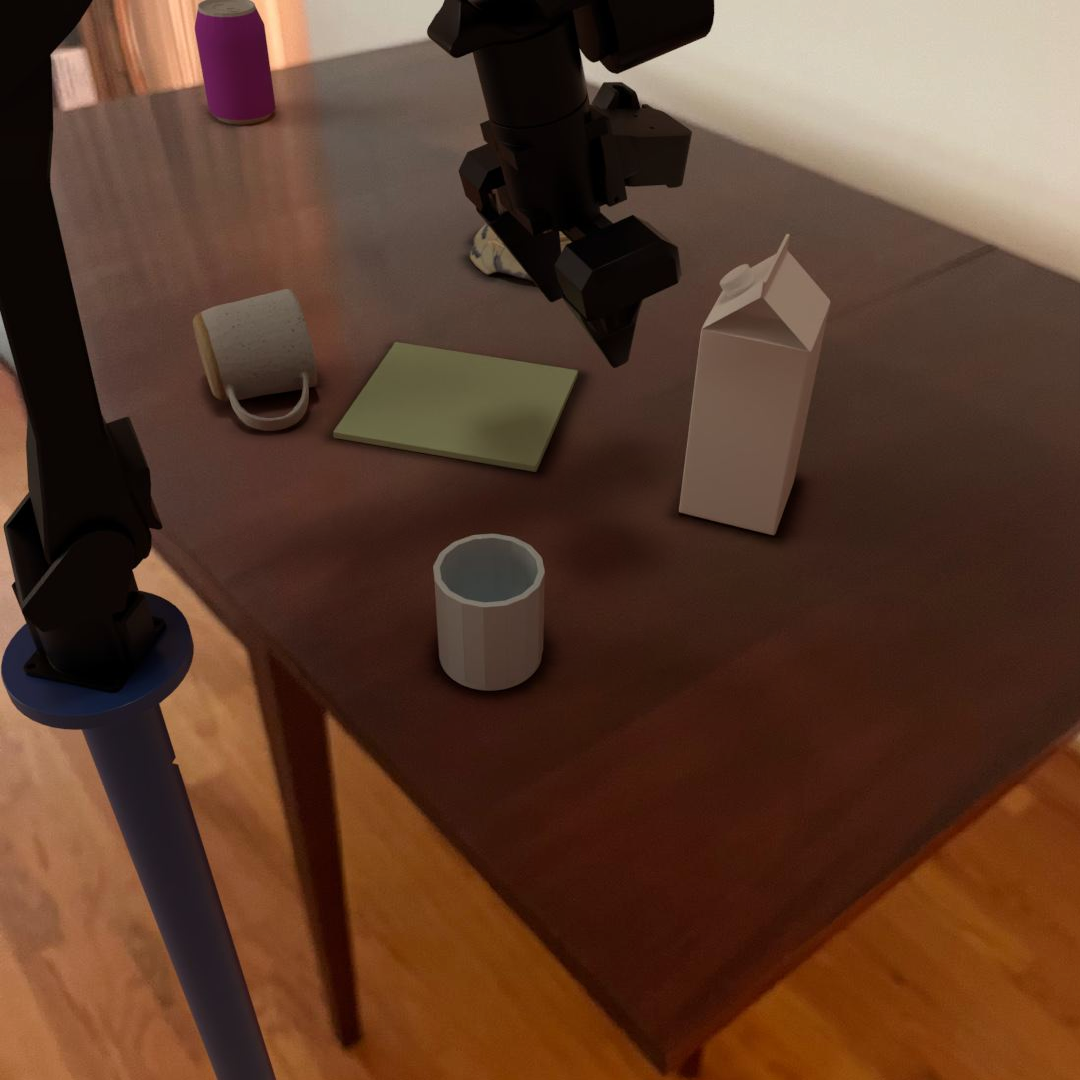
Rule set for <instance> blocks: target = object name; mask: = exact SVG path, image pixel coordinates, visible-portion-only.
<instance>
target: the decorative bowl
mask: <svg viewBox="0 0 1080 1080" xmlns="http://www.w3.org/2000/svg"><path fill="white" fill-rule="evenodd" d="M559 233H560V244H561V252H562V251H563V249H564V247H565V245H567V244H569V243H571V241H570V240H569V239H568V238H567V237H566V236H565V235H564V234H563V233H562V232H561V231H559ZM472 242H473V243H472V246H471V250H470V252H469V253H470V254H469V259H470V261H471V262H472V263H473V265H474V266H475V267H476V268H478V269H479V270H480V271H481V272H482V273H483V274H485V275H486V276H490V275H493V274H496V273H500V274H506V275H509V276H512V277H516V278H519V279H522V280H523V279H524V280H528V281H531V282H533V280H532V279H531V278H530V277H529V275H528V274H527V273H526V272H525V270H524V269H523V268H522V266H521V265H520V264H519V263H518V261H517V260H516V259H515V258H514V257H513V255H512V254H511V253H510V252H509V250H508V249H507V248H506V247H505V245H504V244H503V243H502V242H501V240H500V239H499V238H498V237H497V235H496V234H495V233H494V232H493V230H492V229H491V228H490V227H489V225H488V224H487V223H486V222H485V224H484V225H483V226H482V227H481V228H479V230H478V231H477V233H476V235H475V236H474V237H473V239H472Z"/></svg>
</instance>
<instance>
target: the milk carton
mask: <svg viewBox="0 0 1080 1080" xmlns="http://www.w3.org/2000/svg"><path fill="white" fill-rule="evenodd" d="M790 236H791V235H790V233H786V234H785V235H784V238H783V240H782V241H781V244H780V245H779V248H778V250H777V252H776V253H774V254H773V255H771V256H769V257H767V258H765V259H764V260H762V261H760V262H758V263H757V264H755V265H753V266H751V267H750V265H749V264H748V263H744V264H743V263H742V264H741V265H738V266H736V267H735V268H733V269H731V270H730V271H729V272H727V273H726V274H725V275H724V276H722V278H721V279H720V281H719V286H720V288H721V292H720V294H719V296H718V298H717V299H716V302H715V303H714V305H713V307H712V309H711V310H710V311H709V314H708V316H707V318H706V319H705V321H704V323H703V325H702V327H701V330H700V336H699V342H698V343H699V344H698V352H697V359H696V368H695V376H694V384H693V390H692V391H693V392H692V401H691V409H690V417H689V424H688V433H687V441H686V449H685V458H684V466H683V474H682V482H681V490H680V498H679V507H678V512H679V513H680V514H684V515H688V516H692V517H697V518H701V519H704V520H709V521H712V522H717V523H721V524H725V525H729V526H733V527H737V528H742V529H745V530H749V531H754V532H757V533H761V534H767V535H770V536H775V535H776V533H777V531H778V527H779V525H780V522H781V519H782V517H783V514H784V510H785V509H786V507H787V506H786V505H787V502H788V501H789V497H790V495H791V492H792V488H793V486H794V482H795V479H796V473H797V468H798V464H799V458H800V453H801V448H802V445H803V444H802V443H803V439H804V434H805V429H806V424H807V418H808V415H809V409H810V403H811V400H812V394H813V391H814V384H815V379H816V375H817V370H818V365H819V360H820V357H821V356H820V355H821V351H822V346H823V341H824V336H825V331H826V326H827V321H828V317H829V312H830V306H831V299H830V298H829V297H828V296H827V295H826V294H825V292H824V291H823V290H822V289H821V288H820V286H819V285H818V284H817V283H816V282H815V280H814V279H813V278H812V277H811V276H810V275H809V274H808V272H807V271H806V270H805V269H804V267H803V266H802V265H801V264H800V263H799V262H798V260H796V258H795V257H794V256H793V255H792V254H791V252H790V251H789V249H788V248H789V247H788V246H789V242H790Z"/></svg>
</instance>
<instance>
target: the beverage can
mask: <svg viewBox="0 0 1080 1080" xmlns="http://www.w3.org/2000/svg"><path fill="white" fill-rule="evenodd" d="M194 33H195V39H196V44H197V45H196V46H197V50H198V56H199V62H200V67H201V73H202V79H203V84H204V91H205V95H206V101H207V106H208V110H209V113H210V114H211V115H213V116H214V117H215V118H216V119H218V120H219V121H220V122H222V123H225V124H229V125H239V126H241V125H252V124H258V123H261V122H264V121H265V120H267V119H269V118H270V116H271V115H272V114H273V113H274V111H275V110H276V100H275V92H274V85H273V78H272V70H271V62H270V55H269V48H268V41H267V34H266V27H265V23H264V20H263V19H262V16H261V15H260V12H259V10H258V8H257V7H256V3H255V2H254V1H252V0H202V1H200V2H199V3H198V4H197V11H196V16H195V23H194Z"/></svg>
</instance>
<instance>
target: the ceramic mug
mask: <svg viewBox="0 0 1080 1080" xmlns="http://www.w3.org/2000/svg"><path fill="white" fill-rule="evenodd" d="M192 327H193V333H194V337H195V341H196V344H197V349H198V352H199V356H200V359H201V362H202V366H203V368H204V372H205V375H206V379H207V381H208V385H209V387H210V390H211V393H212V395H213V396H214V397H215V398H216V399H218V400H220V401H230V405H231V408H232V410H233V411H234V413H235V415H236V416H237V417H238V418H239V420H240V421H242V423H244V424H245V425H246V426H249V428H252V429H255V430H260V431H263V432H264V431H266V432H275V431H281V430H286V429H288V428H290V427H292V426H294V425H296V424H298V422H299V421H300V420H301V419H302V418H303V417H304V415H305V414H306V412H307V410H308V406H309V399H310V388H313V387H316V386H317V384H318V371H317V370H318V368H317V364H316V363H317V362H316V357H315V352H314V347H313V344H312V343H313V342H312V340H311V336H310V333H309V329H308V325H307V322H306V319H305V316H304V313H303V310H302V307H301V304H300V302H299V300H298V297H297V295H296V293H295V292H294V291H293V290H292V289H291V288H284V289H280V290H275V291H272V292H268V293H264V294H261V295H256V296H252V297H248V298H245V299H240V300H236V301H232V302H228V303H223V304H218V305H215V306H212V307H209V308H207V309H205V310H203V311H200V312H198V313H196V314H195V315H194V317H193V319H192ZM299 390H302V391H301V397H300V399H299V400H298V402H297V403H296V405H295V406H294V407H293V408H292V410H291V411H289V412H288V413H287V414H285V415H282V416H277V417H263V416H258V415H256V414H251V413H250V412H248V411H247V410H246V409H245V408H244V407H243V406H241V404H240V402H239V401H241V400H247V399H252V398H257V397H261V396H268V395H276V394H281V393H287V392H294V391H299Z"/></svg>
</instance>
